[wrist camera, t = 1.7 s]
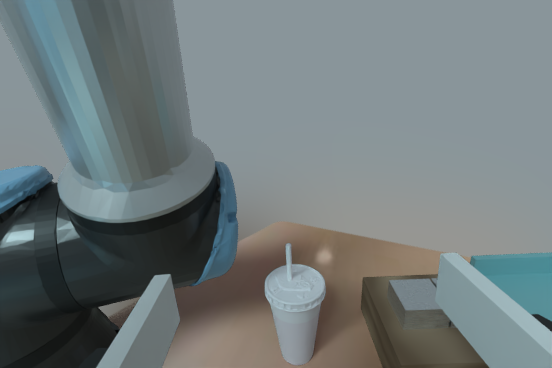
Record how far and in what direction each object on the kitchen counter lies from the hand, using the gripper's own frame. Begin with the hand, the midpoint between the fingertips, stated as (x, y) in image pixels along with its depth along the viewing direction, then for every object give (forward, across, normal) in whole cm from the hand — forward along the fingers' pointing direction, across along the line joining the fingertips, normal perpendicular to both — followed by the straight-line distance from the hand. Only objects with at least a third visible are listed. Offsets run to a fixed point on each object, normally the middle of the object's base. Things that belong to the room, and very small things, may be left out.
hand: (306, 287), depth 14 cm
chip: (+13, +13, -14) cm, 24 cm away
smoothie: (+14, 0, -19) cm, 24 cm away
